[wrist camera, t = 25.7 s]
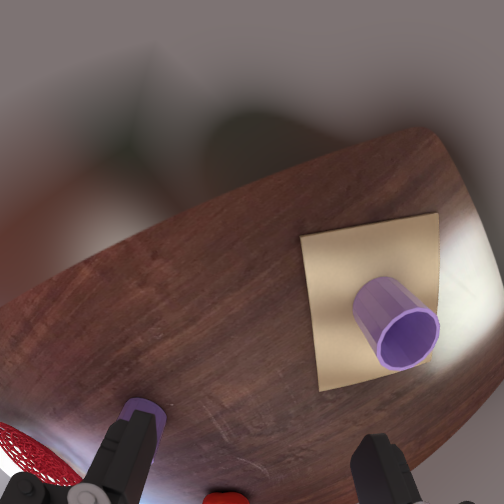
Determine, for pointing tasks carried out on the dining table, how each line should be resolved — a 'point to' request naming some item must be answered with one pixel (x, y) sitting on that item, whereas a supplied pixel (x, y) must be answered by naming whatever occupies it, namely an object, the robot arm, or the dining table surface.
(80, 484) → the robot arm
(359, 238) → the mat
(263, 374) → the dining table surface
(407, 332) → the lavender cup
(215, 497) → the tomato
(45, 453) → the bowl
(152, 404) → the lilac cup
